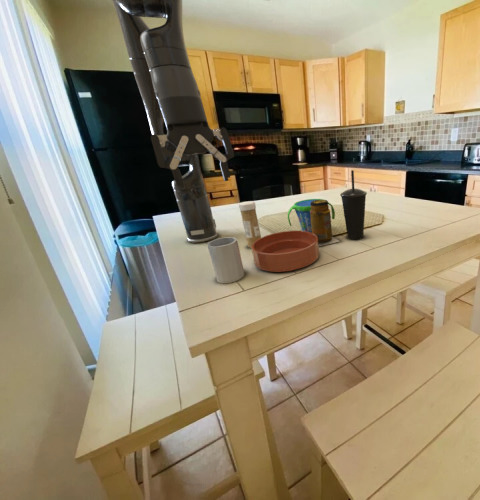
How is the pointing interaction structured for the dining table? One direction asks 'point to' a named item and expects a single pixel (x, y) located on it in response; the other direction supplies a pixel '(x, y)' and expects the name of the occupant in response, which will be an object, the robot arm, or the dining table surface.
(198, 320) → the dining table surface
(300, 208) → the snack cup
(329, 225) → the condiment
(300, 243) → the bowl
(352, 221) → the drinking cup
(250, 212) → the sprinkles bottle
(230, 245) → the white cup
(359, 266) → the dining table surface
